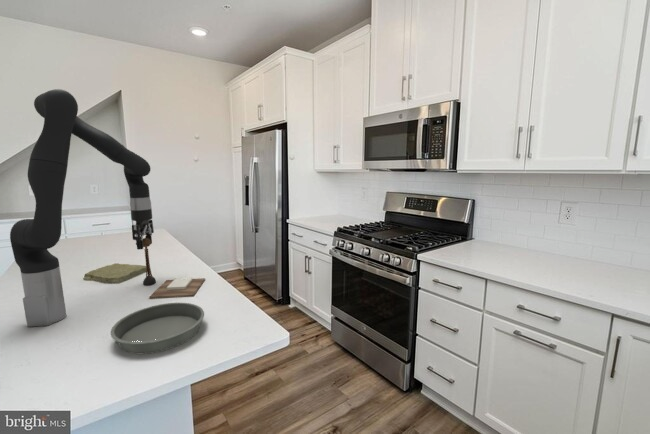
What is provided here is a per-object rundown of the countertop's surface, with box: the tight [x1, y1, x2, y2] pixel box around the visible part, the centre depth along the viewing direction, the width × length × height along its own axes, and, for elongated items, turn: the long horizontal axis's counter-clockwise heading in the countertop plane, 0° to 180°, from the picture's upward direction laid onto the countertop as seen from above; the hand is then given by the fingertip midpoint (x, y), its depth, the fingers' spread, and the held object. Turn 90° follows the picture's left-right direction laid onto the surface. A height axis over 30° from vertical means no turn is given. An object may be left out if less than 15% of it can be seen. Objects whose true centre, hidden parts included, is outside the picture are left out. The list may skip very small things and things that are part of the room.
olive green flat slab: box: [82, 262, 146, 285], centre depth 146 cm, size 19×20×4 cm
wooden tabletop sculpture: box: [135, 237, 157, 287], centre depth 133 cm, size 6×5×20 cm
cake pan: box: [110, 302, 205, 354], centre depth 95 cm, size 25×25×4 cm
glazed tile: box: [167, 277, 193, 290], centre depth 131 cm, size 1×7×10 cm
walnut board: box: [148, 277, 206, 300], centre depth 129 cm, size 18×16×1 cm
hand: (144, 246), depth 133 cm, fingers open, 8 cm apart
